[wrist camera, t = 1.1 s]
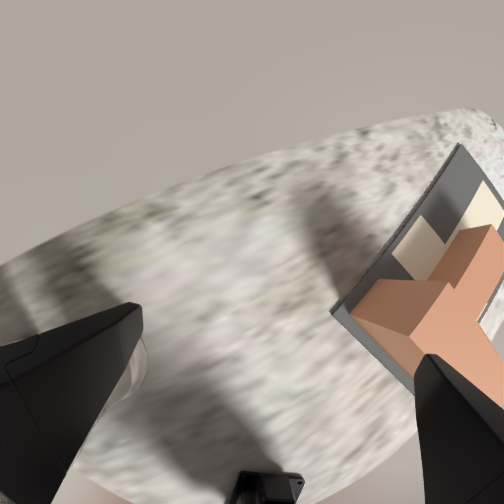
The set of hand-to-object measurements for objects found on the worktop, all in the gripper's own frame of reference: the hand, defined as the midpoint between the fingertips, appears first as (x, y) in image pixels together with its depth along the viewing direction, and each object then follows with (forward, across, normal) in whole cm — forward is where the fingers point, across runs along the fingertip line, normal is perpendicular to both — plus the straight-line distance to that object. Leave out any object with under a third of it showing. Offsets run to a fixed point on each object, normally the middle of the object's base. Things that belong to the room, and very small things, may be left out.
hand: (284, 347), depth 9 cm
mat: (+19, -17, +3) cm, 26 cm away
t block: (+17, -15, +6) cm, 23 cm away
